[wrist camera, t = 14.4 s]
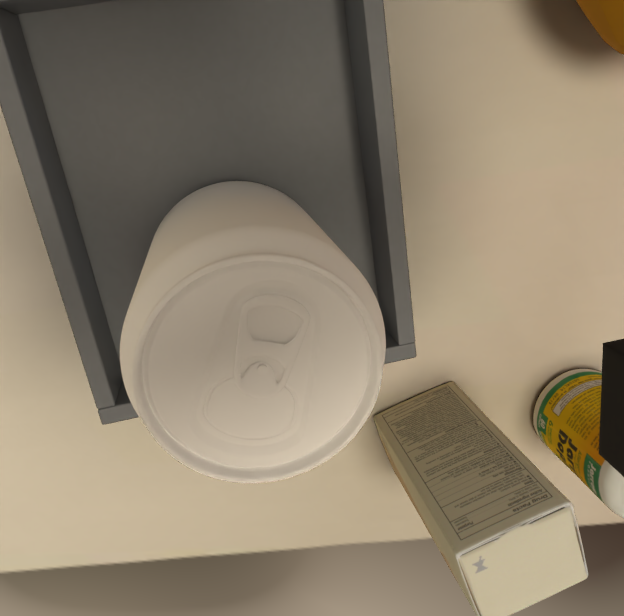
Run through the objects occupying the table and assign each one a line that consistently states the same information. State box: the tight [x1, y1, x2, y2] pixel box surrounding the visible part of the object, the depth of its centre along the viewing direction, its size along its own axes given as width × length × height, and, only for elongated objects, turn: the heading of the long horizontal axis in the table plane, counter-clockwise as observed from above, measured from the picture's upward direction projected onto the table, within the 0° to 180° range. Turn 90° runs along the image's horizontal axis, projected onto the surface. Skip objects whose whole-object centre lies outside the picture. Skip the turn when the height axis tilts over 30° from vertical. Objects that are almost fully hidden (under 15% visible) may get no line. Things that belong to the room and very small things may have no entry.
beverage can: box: [120, 181, 386, 483], centre depth 22 cm, size 8×8×12 cm
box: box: [374, 382, 588, 616], centre depth 28 cm, size 5×4×11 cm
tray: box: [0, 0, 416, 425], centre depth 25 cm, size 18×15×4 cm
